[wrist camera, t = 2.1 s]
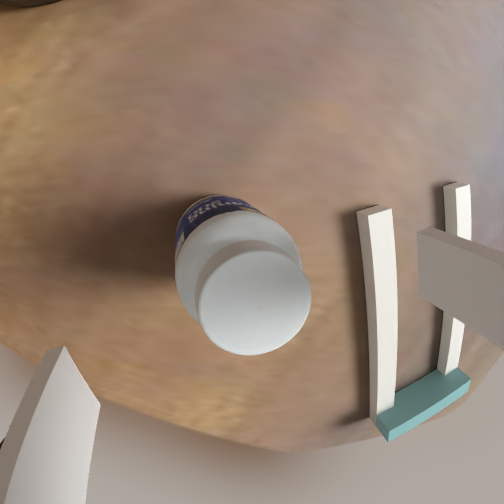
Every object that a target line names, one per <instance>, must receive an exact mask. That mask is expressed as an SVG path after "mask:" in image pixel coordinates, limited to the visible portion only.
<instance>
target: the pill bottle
mask: <svg viewBox="0 0 504 504" xmlns="http://www.w3.org/2000/svg"><path fill="white" fill-rule="evenodd" d="M175 281H176V287H177V291H178V295H179V297H180V300H181V302H182V304H183V306H184V307H185V309H186V310H187V312H188V313H189V314H190V315H191V316H192V317H193V318H194V319H195V320H196V321H197V322H198V323H200V324H201V326H202V328H203V330H204V332H205V333H206V335H207V336H208V338H209V339H210V340H211V341H212V342H213V343H214V344H216V345H217V346H218V347H220V348H222V349H223V350H226V351H228V352H231V353H234V354H238V355H259V354H263V353H267V352H270V351H273V350H275V349H277V348H279V347H280V346H282V345H284V344H285V343H287V342H288V341H289V340H290V339H291V338H293V337H294V336H295V335H296V334H297V333H298V331H299V330H300V329H301V327H302V326H303V324H304V322H305V320H306V318H307V316H308V313H309V310H310V305H311V289H310V284H309V281H308V279H307V277H306V275H305V273H304V271H303V270H302V264H301V259H300V254H299V251H298V249H297V246H296V244H295V242H294V241H293V239H292V238H291V236H290V235H289V234H288V233H287V231H286V230H285V229H284V228H283V227H281V226H280V225H279V224H278V223H277V222H276V221H274V220H273V219H271V218H270V217H268V216H266V215H265V214H263V213H262V212H261V211H259V210H257V209H256V208H254V207H253V206H251V205H250V204H248V203H247V202H245V201H243V200H241V199H239V198H237V197H234V196H229V195H212V196H208V197H205V198H203V199H200V200H198V201H197V202H195V203H194V204H192V205H191V206H190V207H189V208H188V209H187V210H186V211H185V213H184V214H183V216H182V217H181V219H180V221H179V224H178V226H177V230H176V238H175Z"/></svg>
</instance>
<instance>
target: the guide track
mask: <svg viewBox="0 0 504 504" xmlns="http://www.w3.org/2000/svg"><path fill="white" fill-rule="evenodd" d="M443 191H444V206H445V228H446V232H447V233H450V234H453V235H456V236H459V237H461V238H464V239H467V240H470V241H471V198H470V184H465V183H460V182H456V183H452V184H449V185H445V186H443ZM356 213H357V220H358V227H359V235H360V243H361V252H362V261H363V270H364V281H365V293H366V305H367V320H368V339H369V369H370V419H371V420H372V421H373V423H374V424H375V425H376V427H377V428H378V429H379V431H380V432H381V433H382V435H383V436H384V437H385V439H386V440H387V441H388V442H389V441H391V440H393V439H395V438H396V437H398V436H400V435H402V434H403V433H405V432H407V431H409V430H410V429H412V428H414V427H415V426H417V425H419V424H420V423H422V422H423V421H425V420H427V419H428V418H430V417H431V416H433V415H434V414H436V413H438V412H439V411H441V410H442V409H444V408H445V407H446V406H448V405H449V404H451V403H452V402H454V401H455V400H456V399H458V398H459V397H461V396H462V395H463V394H465V393H466V392H467V391H468V389H469V385H470V382H471V378H469V377H468V376H467V375H466V374H465V373H463V372H462V371H461V370H460V369H459V368H457V366H458V361H459V356H460V351H461V345H462V339H463V332H464V325H465V324H463V323H462V322H460V321H459V320H457V319H456V318H454V317H452V316H451V315H449V314H448V313H446V312H443V323H442V333H441V342H440V350H439V357H438V364H437V369H436V370H434V371H432V372H431V373H429V374H427V375H426V376H424V377H422V378H421V379H419V380H417V381H416V382H414V383H412V384H410V385H409V386H407V387H405V388H403V389H402V390H400V391H398V392H396V393H395V382H396V364H397V276H396V257H395V243H394V230H393V220H392V210H391V208H388V207H385V206H381V205H377V206H374V207H370V208H367V209H363V210H360V211H357V212H356Z"/></svg>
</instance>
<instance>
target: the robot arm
mask: <svg viewBox="0 0 504 504" xmlns="http://www.w3.org/2000/svg"><path fill="white" fill-rule="evenodd" d="M55 1H59V0H0V2H1V3H4V4H7V5H11V6H19V7H26V6H36V5H42V4H47V3H51V2H55ZM417 245H418V270H419V296H420V297H422V298H423V299H425V300H427V301H428V302H430V303H432V304H433V305H435V306H436V307H438V308H440V309H441V310H443V311H444V312H446V313H448V314H449V315H451V316H452V317H454V318H456V319H457V320H459V321H460V322H462V323H463V324H465V325H467V326H468V327H470V328H471V329H473V330H474V331H476V332H477V333H479V334H480V335H482V336H484V337H485V338H487V339H488V340H490V341H491V342H493V343H494V344H496V345H497V346H499V347H500V348H502V349H503V350H504V253H502V252H500V251H497V250H494V249H492V248H489V247H486V246H484V245H481V244H478V243H475V242H473V241H470V240H467V239H464V238H461V237H459V236H456V235H453V234H450V233H447V232H444V231H441V230H438V229H435V228H432V227H429V228H426V229H424V230H421V231H418V232H417ZM99 410H100V403H99V402H98V400H97V399H96V397H95V396H94V394H93V393H92V391H91V390H90V388H89V386H88V385H87V383H86V382H85V380H84V378H83V377H82V375H81V374H80V372H79V370H78V369H77V367H76V365H75V363H74V362H73V360H72V358H71V356H70V355H69V353H68V351H67V349H66V348H65V346H61V347H57V348H53V349H49V350H47V352H46V354H45V355H44V357H43V359H42V361H41V363H40V365H39V367H38V369H37V371H36V372H35V374H34V377H33V378H32V380H31V382H30V384H29V386H28V388H27V390H26V392H25V395H24V397H23V399H22V401H21V403H20V405H19V407H18V410H17V412H16V414H15V416H14V419H13V421H12V423H11V425H10V427H9V430H8V432H7V435H6V437H5V438H4V439H3V441H2V442H1V443H0V504H85V500H86V491H87V483H88V475H89V468H90V461H91V455H92V448H93V443H94V437H95V431H96V426H97V420H98V415H99Z"/></svg>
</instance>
